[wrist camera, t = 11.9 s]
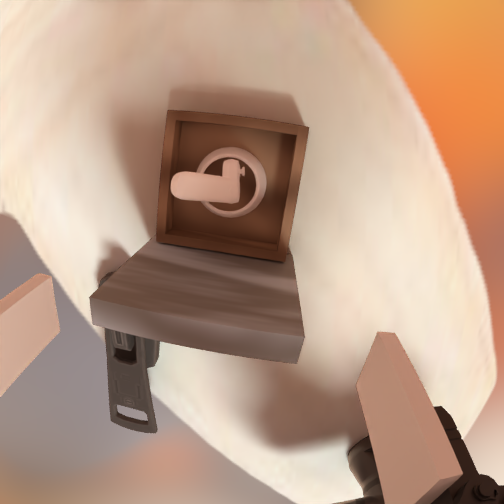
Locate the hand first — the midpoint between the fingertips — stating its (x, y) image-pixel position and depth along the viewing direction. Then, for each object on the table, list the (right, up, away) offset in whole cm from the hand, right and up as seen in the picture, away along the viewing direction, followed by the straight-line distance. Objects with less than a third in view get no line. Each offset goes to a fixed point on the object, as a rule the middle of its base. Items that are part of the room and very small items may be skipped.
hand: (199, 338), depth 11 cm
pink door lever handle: (0, +11, +22) cm, 25 cm away
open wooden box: (-1, +10, +23) cm, 25 cm away
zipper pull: (-15, -11, +32) cm, 37 cm away
